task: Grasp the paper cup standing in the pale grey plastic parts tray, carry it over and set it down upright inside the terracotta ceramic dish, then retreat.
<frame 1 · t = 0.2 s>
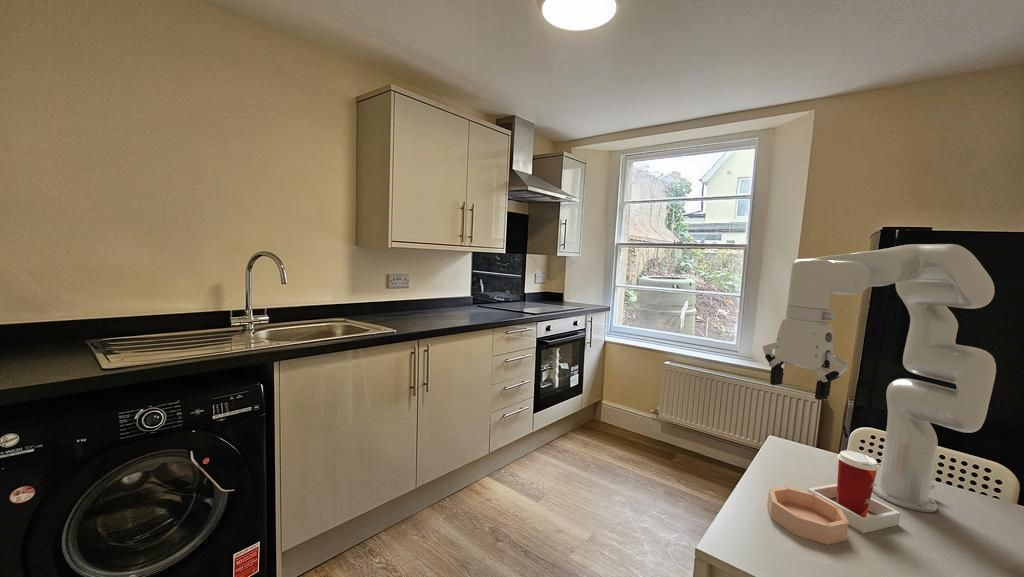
hand: (797, 391, 89), 31 cm above the table, tool pointing down, fingers open, 9 cm apart
paper cup: (850, 512, 98), resting in parts tray
dish: (804, 521, 92), on the table
parts tray: (850, 511, 98), on the table
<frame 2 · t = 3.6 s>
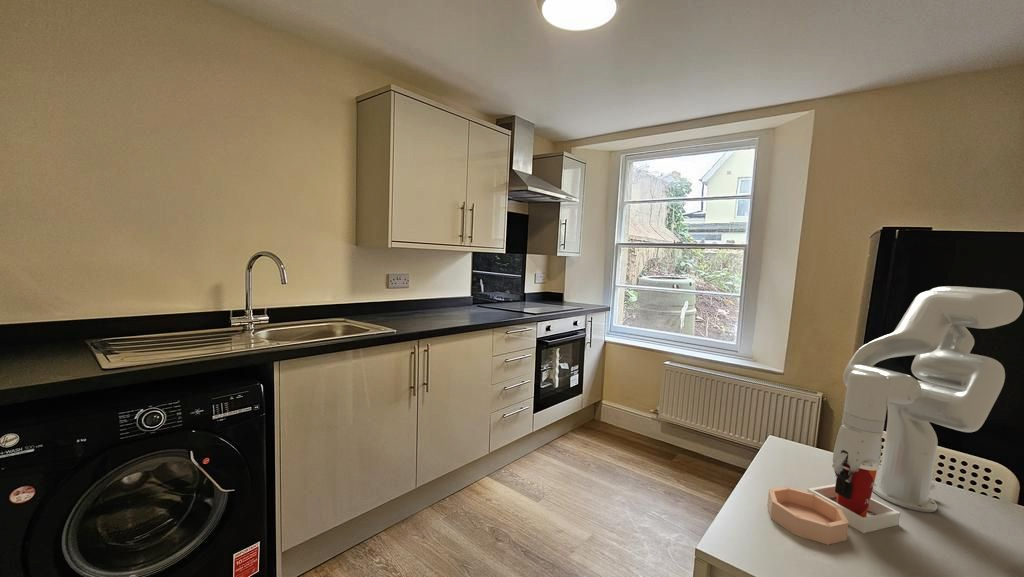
hand: (852, 493, 97), 5 cm above the table, tool pointing down, fingers closed on paper cup, 6 cm apart
paper cup: (850, 512, 98), resting in parts tray, touching gripper
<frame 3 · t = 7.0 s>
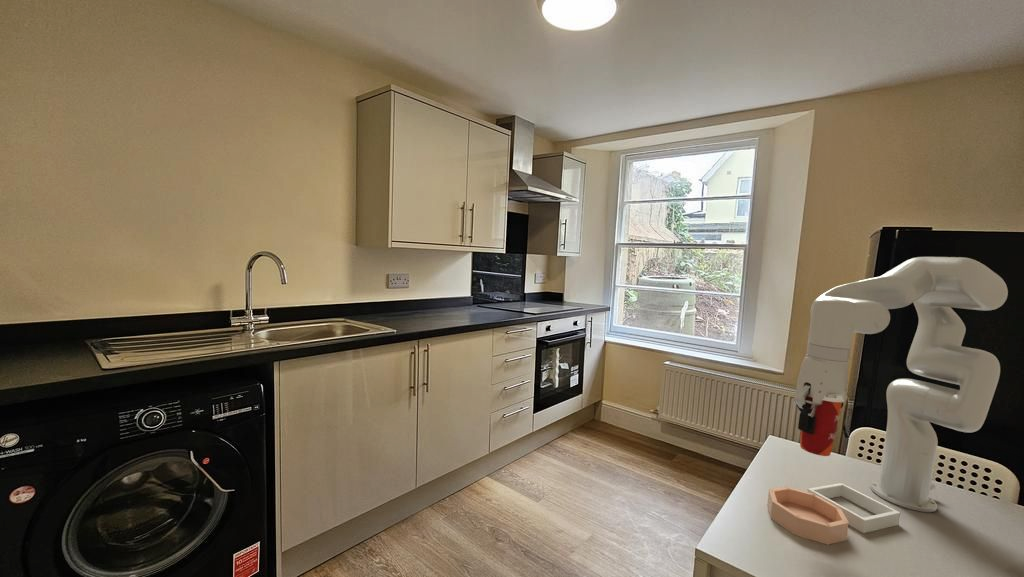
hand: (817, 430, 91), 22 cm above the table, tool pointing down, fingers closed on paper cup, 6 cm apart
paper cup: (814, 450, 91), point 17 cm above the table, touching gripper
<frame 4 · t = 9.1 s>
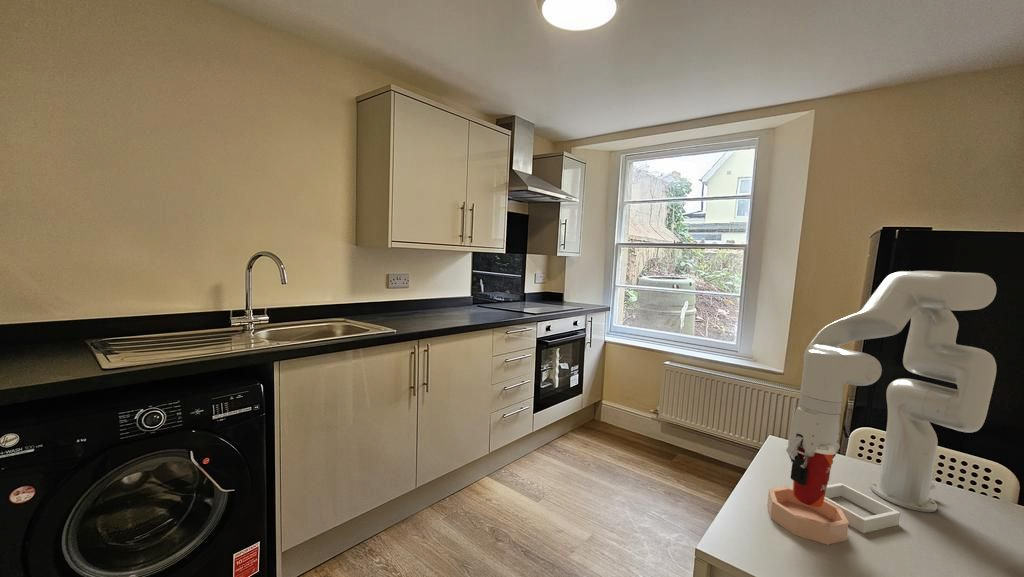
hand: (809, 479, 92), 10 cm above the table, tool pointing down, fingers closed on paper cup, 6 cm apart
paper cup: (807, 500, 92), point 5 cm above the table, touching gripper
when the fingers open (7 cm above the table, at t = 10.7 s): paper cup drops 2 cm, resting on dish.
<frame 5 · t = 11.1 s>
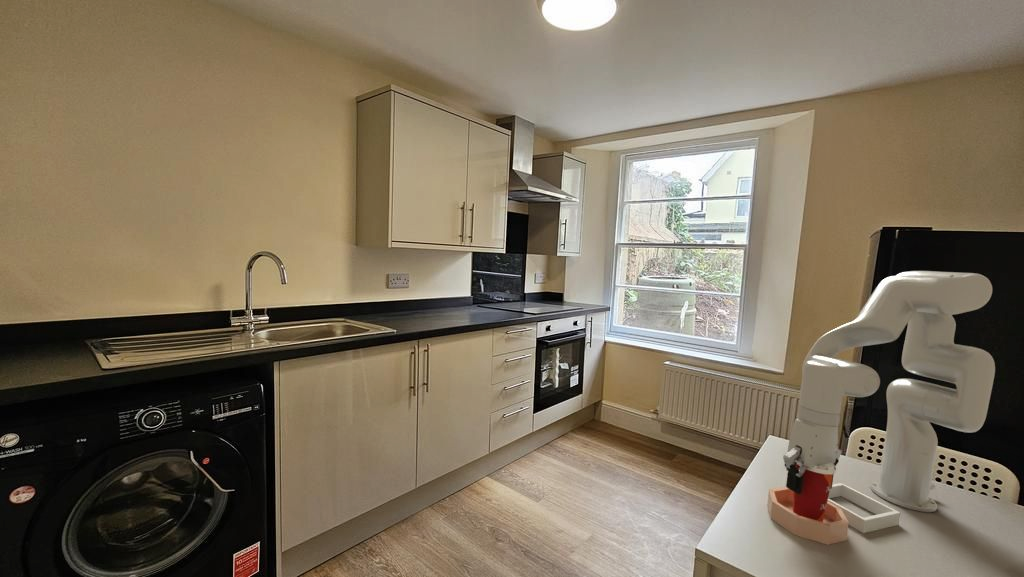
hand: (808, 488, 92), 8 cm above the table, tool pointing down, fingers open, 9 cm apart
paper cup: (807, 518, 93), point 1 cm above the table, touching dish, gripper
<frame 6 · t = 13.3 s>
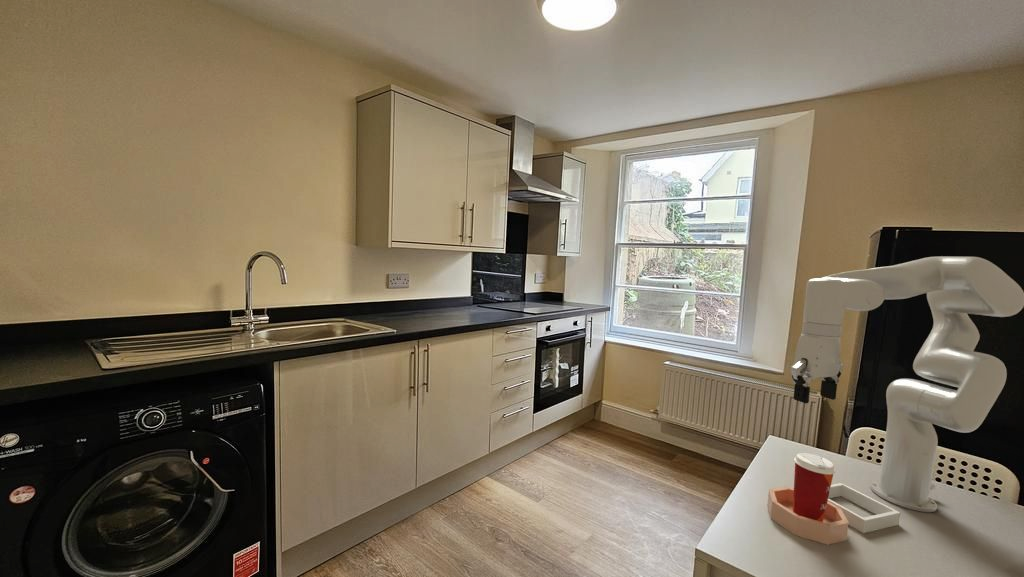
hand: (814, 399, 97), 27 cm above the table, tool pointing down, fingers open, 9 cm apart
paper cup: (807, 518, 93), point 1 cm above the table, touching dish
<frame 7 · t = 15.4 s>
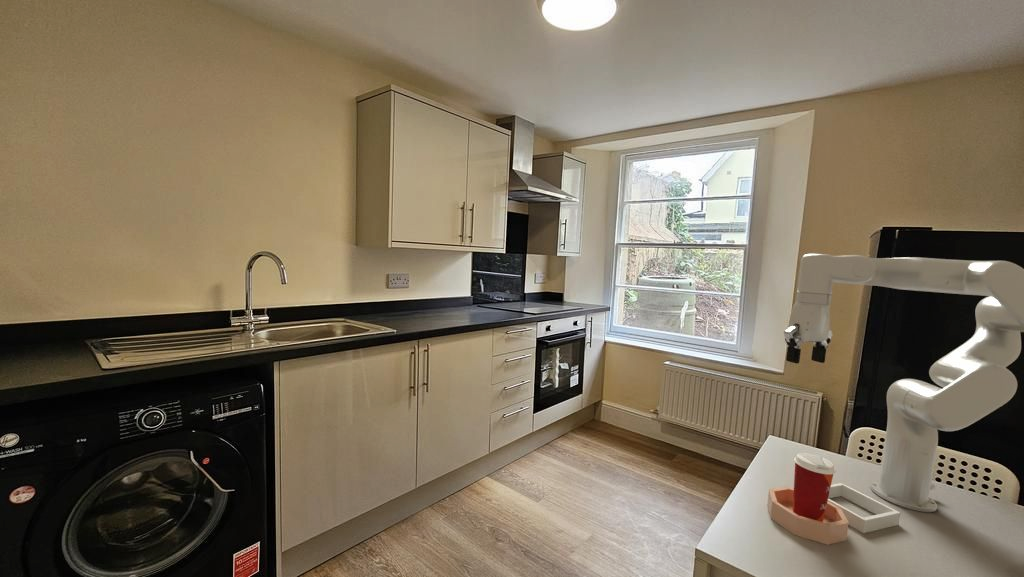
hand: (805, 361, 109), 33 cm above the table, tool pointing down, fingers open, 9 cm apart
nothing on the table moved.
at the end: paper cup inside the target area on the dish (0.8 cm from its centre), point 0.6 cm above the dish's base; paper cup tilted 0°; the gripper is holding nothing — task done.
